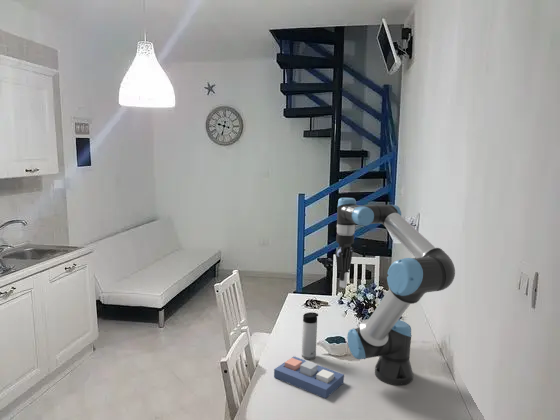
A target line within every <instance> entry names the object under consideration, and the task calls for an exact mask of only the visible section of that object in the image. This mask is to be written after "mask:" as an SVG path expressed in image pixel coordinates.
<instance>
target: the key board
mask: <svg viewBox="0 0 560 420" xmlns="http://www.w3.org/2000/svg"><path fill="white" fill-rule="evenodd" d="M291 358H294V359H297V360H299V361H302V364H303V363H304V362H306V361H307V360H306V359H304V358H299V357H296V356H292V357H291ZM285 362H286V361H284V362H283V363H281V364H280V365H278V366H276V367H275V368H274V369H273V371H274V372H273V378H275V379H277V380H280V381H282V382H285V383H287V384H289V385H292V386H294V387H297V388H299V389H301V390H304V391H307V392H309V393H311V394H314V395H316V396H319V397H321V398H324V399H327V398H329V396H330V395H331V394H333V393H334V392H335V391H336V390H337V389H338V388H339V387H340V386H342V385H343V384H344V381H345V374H344V373H341V372H338V371H335V370H332V369H330V368H327V367H326V366H325V367H324V366H322V365H318V371H317V373H319V372H320V371H321V370H323V369H324V370H327V371H329V372H332V373H334V379H333V380H332V381H331V382H330V383H328V384H327V383H325V382H322V381H319V380H317V379H316V374H317V373H316V374H315V375H313V376H312V377H309V376H307V375H304V374H301V373H300V368H299V369H298V370H296V371H294V370H291V369H288V368H286V367H285Z"/></svg>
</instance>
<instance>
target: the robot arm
mask: <svg viewBox="0 0 560 420" xmlns="http://www.w3.org/2000/svg"><path fill="white" fill-rule="evenodd" d="M336 207H337V212H336V213H337V214H336V219H337V220H336V233H337V234H336V236H335V237H336V238H335V239H336V241H335V242H336V243H337V244H338V248H337V249H338V250H337V251H335V252H334V255H335V263H336V272H337V273H339V288H343V289H346V288H347V286H348V284H347V282H348V273H350V270H351V265H352V259H353V253H354V249H355V248H354V247H352V244H353V245H354V243H355V226H356V225H358V226H364V227H367V226H369V225H373V224H374V225H375V224H381V225H383V226H384V227H385V228H386V229H387V230H388V231H389V232H390V233H391V234H392V235H393V236H394V237H395V239H397V240H398V242H399V243H401V245H403V247H404V248H405V249H406V250H407V251H408V252H410V253H411V254H412V256H413V258H411V257H404V258H401V259H397V260H395V261H393V262H392V263H391V264H390V266H389V268H388V269H387V275H388V276H386V280H387V281H386V283H387V285H388V290H387V292H386V293H385V294H384V296H383V297H382V299H381V300H380V302H379V304H378V305H377V307H376V308H375V309H374V311H373V312H372V314H371V315H370V317H369V318H368V319H364V320H363V321H361V323H360V324H359V326H358V327H356V328H354V327H353V328H352V329H349V330H348V332H347V337H346V338H347V344H348V348H349V351H350V353H351V354H352V356H353V358H355V359H356V360H367V359H371V358H376V357H378V359H377V362H376V365H375V367H374V375H375V376H376V378H377V379H378V380H380V381H381V382H384V383H386V384H389V385H394V386H395V385H396V386H403V385H409V384H410V383H412V381H413V378H414V372H413V368H412V364H411V362H410V360H411V359H410V356H411V342H412V327H411V325H410V324H409V323H407V322H406V321H403V320H401V319H400V318H401V317H402V316H403V315H404V313H405V312H406V311H407V309H408V308H409V306H410V305H414V304H417V303H418V302H419V301H420V300H421V299H422V297H423V296H424V295H425V294H426V293H433V292H441V291H444V290H445V289H447V288H449V287H451V285H452V283H453V281H454V279H455V275H456V269H455V265H454V262H453V260H452V259H451V258H450V256H449V255H448V254H447V253H446V251H444V250H443V248H441V247H435V246H434V245H433V244H432V243H431V242H430V241H429V240H428V239H426V237H424V236H423V235H422V234H421V233H420V232H419V230H417V229H416V228H415V227H414V226H412V224H410V222H409V221H407V220H406V219H405V218H404V217H403V216H402V211H401V209H400V208H401V207H399V206H398V205H397V204H396V205H395V204H379V205H377V204H376V205H375V204H373V205H371V204H370V205H366V204H365V205H359V204H357V201H356V199H355V198H354V197H340V198H339V199H338V201H337V206H336Z"/></svg>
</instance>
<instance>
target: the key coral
mask: <svg viewBox="0 0 560 420" xmlns="http://www.w3.org/2000/svg"><path fill="white" fill-rule="evenodd" d="M284 362H285V367H286V368H288V369H291V370H294V371H296V370H298V369H299V368H300V365H301V364H302V361H299V360H297V359H294V358H292V357H291V358H289V359H288V360H286V361H284Z"/></svg>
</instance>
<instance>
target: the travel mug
mask: <svg viewBox="0 0 560 420" xmlns="http://www.w3.org/2000/svg"><path fill="white" fill-rule="evenodd" d="M318 317H319V313H316V312H311V311H310V312H305V313H303V315H302V336H301V338H302V340H301V341H302V342H301V343H302V344H301V358H302V359H303V360H307V361H309V360H314V359H315V358H316V357H317V333H318V331H317V329H318Z"/></svg>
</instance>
